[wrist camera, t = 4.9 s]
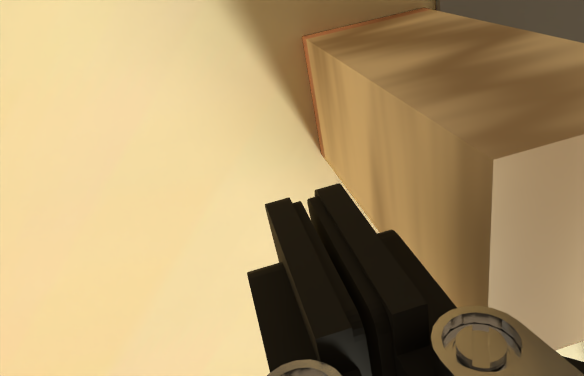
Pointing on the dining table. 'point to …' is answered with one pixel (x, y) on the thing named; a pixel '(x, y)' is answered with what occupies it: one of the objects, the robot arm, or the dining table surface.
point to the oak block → (464, 154)
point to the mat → (525, 15)
